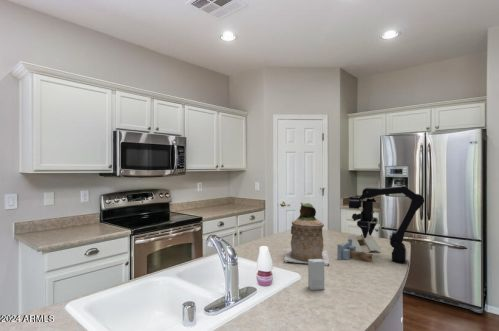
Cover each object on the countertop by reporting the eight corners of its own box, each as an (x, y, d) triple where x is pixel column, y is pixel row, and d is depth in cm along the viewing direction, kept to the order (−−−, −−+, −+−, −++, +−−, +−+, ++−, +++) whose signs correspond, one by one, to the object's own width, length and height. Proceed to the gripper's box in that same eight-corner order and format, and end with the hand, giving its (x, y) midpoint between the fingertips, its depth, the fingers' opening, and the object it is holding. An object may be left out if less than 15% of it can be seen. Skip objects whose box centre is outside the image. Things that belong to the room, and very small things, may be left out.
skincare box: (321, 285, 131) (321, 258, 131) (324, 290, 127) (325, 261, 127) (307, 286, 131) (307, 258, 131) (310, 290, 126) (310, 261, 126)
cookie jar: (330, 266, 157) (330, 205, 157) (283, 263, 162) (283, 204, 162) (327, 253, 181) (327, 200, 181) (286, 250, 186) (286, 199, 186)
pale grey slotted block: (379, 257, 187) (370, 237, 198) (381, 249, 181) (372, 229, 193) (353, 260, 188) (345, 240, 199) (354, 253, 182) (346, 232, 193)
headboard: (357, 253, 180) (357, 239, 180) (345, 261, 165) (345, 245, 165) (348, 252, 183) (348, 237, 183) (336, 259, 169) (336, 243, 169)
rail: (372, 260, 167) (372, 254, 167) (370, 262, 164) (370, 255, 164) (349, 256, 175) (349, 250, 175) (347, 257, 173) (347, 251, 173)
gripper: (359, 206, 185) (359, 231, 185) (348, 209, 171) (347, 237, 171) (378, 208, 178) (378, 234, 178) (368, 211, 164) (367, 240, 164)
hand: (367, 236), depth 173 cm, fingers open, 9 cm apart
